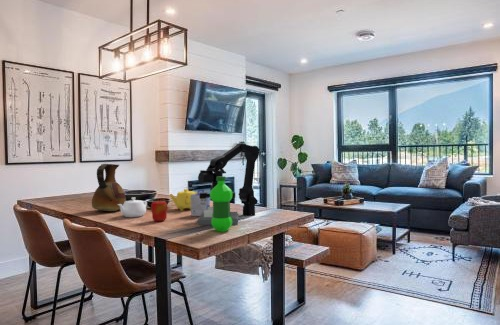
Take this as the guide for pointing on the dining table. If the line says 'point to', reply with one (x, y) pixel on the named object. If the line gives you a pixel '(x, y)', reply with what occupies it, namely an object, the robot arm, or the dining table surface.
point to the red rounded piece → (159, 210)
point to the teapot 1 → (133, 208)
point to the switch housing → (207, 220)
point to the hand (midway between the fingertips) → (217, 211)
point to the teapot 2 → (183, 199)
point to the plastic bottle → (221, 205)
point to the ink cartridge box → (199, 204)
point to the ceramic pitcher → (108, 190)
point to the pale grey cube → (208, 213)
